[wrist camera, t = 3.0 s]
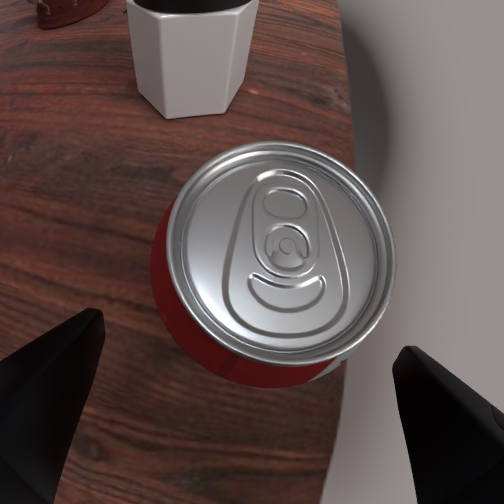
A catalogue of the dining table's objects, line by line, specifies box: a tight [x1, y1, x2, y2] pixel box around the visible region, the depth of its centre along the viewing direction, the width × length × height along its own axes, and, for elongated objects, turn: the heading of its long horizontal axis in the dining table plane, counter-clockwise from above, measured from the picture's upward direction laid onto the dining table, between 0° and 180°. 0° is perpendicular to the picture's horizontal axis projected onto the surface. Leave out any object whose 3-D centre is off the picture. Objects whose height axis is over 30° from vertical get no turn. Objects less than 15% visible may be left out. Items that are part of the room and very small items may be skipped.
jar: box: [126, 0, 259, 119], centre depth 18 cm, size 9×8×12 cm
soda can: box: [150, 141, 397, 388], centre depth 13 cm, size 7×7×12 cm
